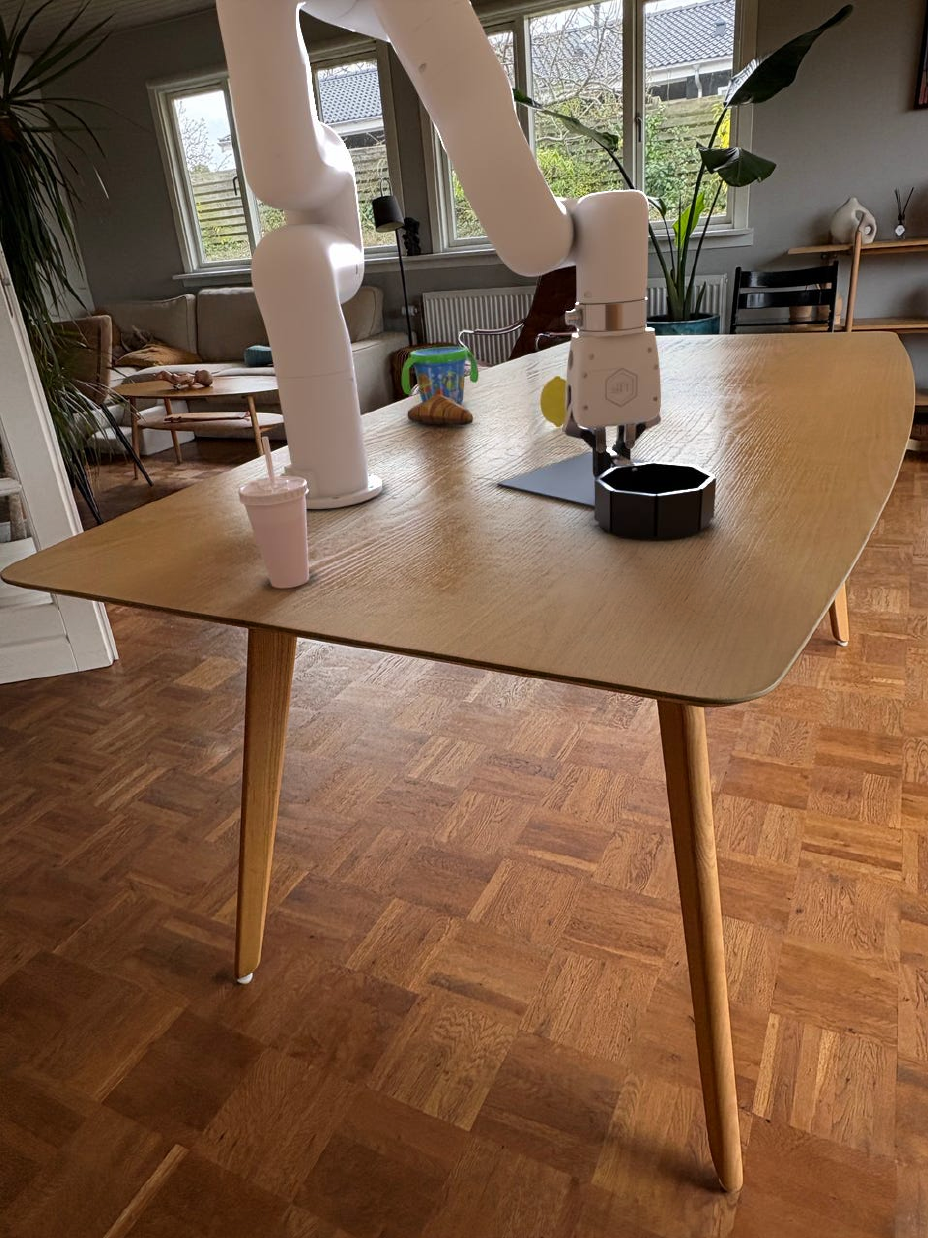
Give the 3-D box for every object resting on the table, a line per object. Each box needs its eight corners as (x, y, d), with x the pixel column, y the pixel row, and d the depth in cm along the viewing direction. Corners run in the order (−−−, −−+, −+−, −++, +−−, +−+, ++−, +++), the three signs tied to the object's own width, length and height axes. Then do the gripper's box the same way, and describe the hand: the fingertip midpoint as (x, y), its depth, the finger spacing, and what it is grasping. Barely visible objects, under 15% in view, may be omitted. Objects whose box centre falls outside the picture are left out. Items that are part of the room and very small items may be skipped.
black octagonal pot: (730, 530, 82) (733, 483, 80) (623, 547, 80) (623, 499, 78) (644, 476, 101) (644, 437, 99) (555, 489, 99) (554, 449, 97)
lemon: (575, 422, 131) (574, 371, 128) (576, 430, 126) (575, 377, 123) (541, 424, 132) (539, 374, 129) (541, 432, 127) (539, 380, 124)
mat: (594, 508, 92) (594, 505, 92) (497, 485, 103) (497, 483, 103) (687, 470, 102) (687, 468, 102) (589, 453, 113) (589, 451, 113)
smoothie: (326, 565, 82) (303, 427, 76) (318, 590, 76) (293, 444, 70) (263, 571, 82) (236, 433, 76) (251, 596, 76) (219, 450, 70)
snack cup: (467, 396, 159) (463, 342, 155) (493, 403, 151) (489, 346, 146) (394, 409, 153) (388, 353, 149) (417, 417, 145) (410, 358, 140)
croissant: (483, 421, 137) (481, 391, 135) (460, 430, 132) (458, 399, 130) (422, 417, 145) (419, 388, 143) (397, 425, 140) (394, 396, 138)
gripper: (554, 328, 84) (559, 499, 92) (693, 313, 86) (686, 480, 94) (533, 322, 90) (539, 482, 98) (663, 308, 93) (659, 465, 101)
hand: (611, 480), depth 96 cm, fingers closed on black octagonal pot, 1 cm apart
